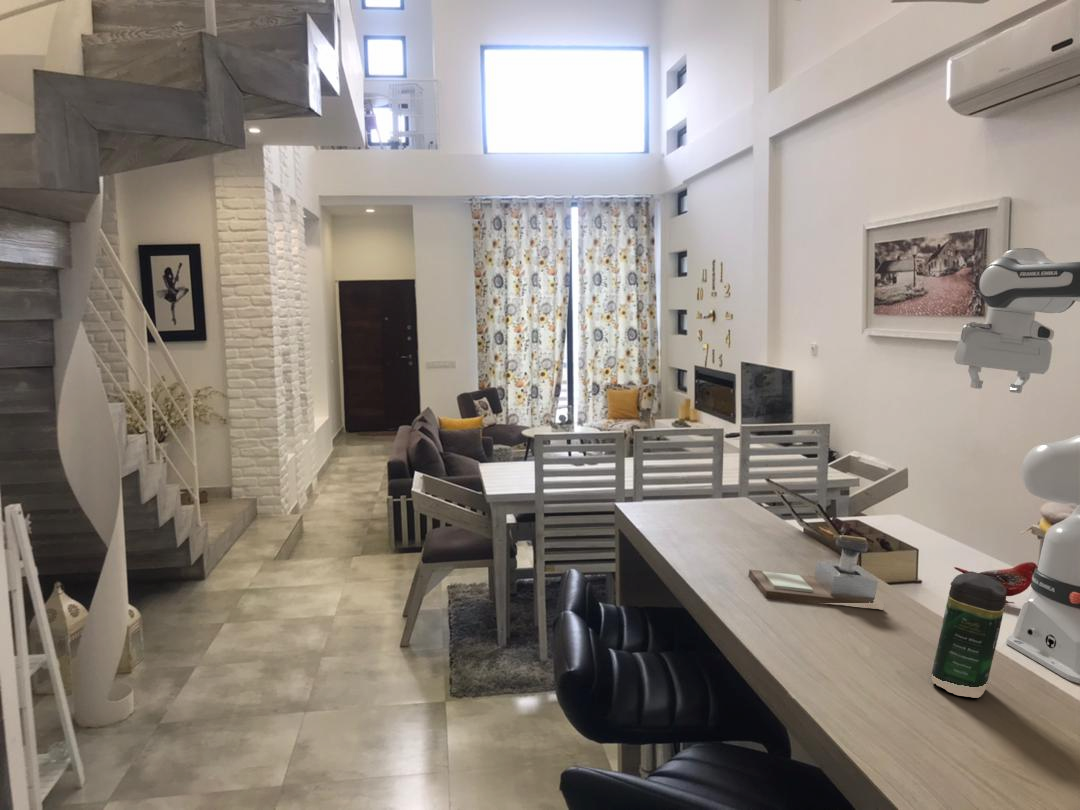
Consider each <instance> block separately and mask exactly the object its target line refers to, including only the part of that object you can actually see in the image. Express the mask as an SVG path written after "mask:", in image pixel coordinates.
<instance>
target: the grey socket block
mask: <svg viewBox="0 0 1080 810" xmlns="http://www.w3.org/2000/svg"><path fill="white" fill-rule="evenodd" d="M839 565H840V562H830V561H821V560H817V562H816V566H815V567H816V568H815V572H814V576H813V577H814V579H815V580H816V581H817V582H818V583H819V584H820V585H821V586H822V587H823V588H824V589H825V590H826V591H827V592H828V593H829V594H830V595H834V596H843V597H852V598H861V599H870V600H874V599H875V595H876V593H877V588H878V583H879V580H877V579H876V578H875V577H873V575H871V574H870V573H869V572H868V571H866V570H865V569H864V568H863V567H862V566H860V565H859V564H858V565H856V571H855V575H851V574H842V573H840V572H839V571H838V570H839Z"/></svg>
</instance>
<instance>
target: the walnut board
mask: <svg viewBox="0 0 1080 810" xmlns="http://www.w3.org/2000/svg"><path fill="white" fill-rule="evenodd" d="M814 577H815V576H814V575H813V576H811V575H802V574H793V573H785V572H774V571H767V570H756V569H748V578H749V580H751V581H752V582H753V584H754V585H755V586H756V588H757V590H758V591H759V592H760V593H761V594H762V595H763V596H764V598H765V599H772V600H781V601H791V602H798V603H799V602H800V603H809V604H816V603H869V602H870V603H873V602H874V601H873V600H870V599H861V598H852V597H843V596H834V595H830V594H829V593H828V592H827V591H826V590H825V589H824V588H823V587H822V586H821V585H820V584H819V583H818V582H817V581H816V580H815V579H814Z"/></svg>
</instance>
